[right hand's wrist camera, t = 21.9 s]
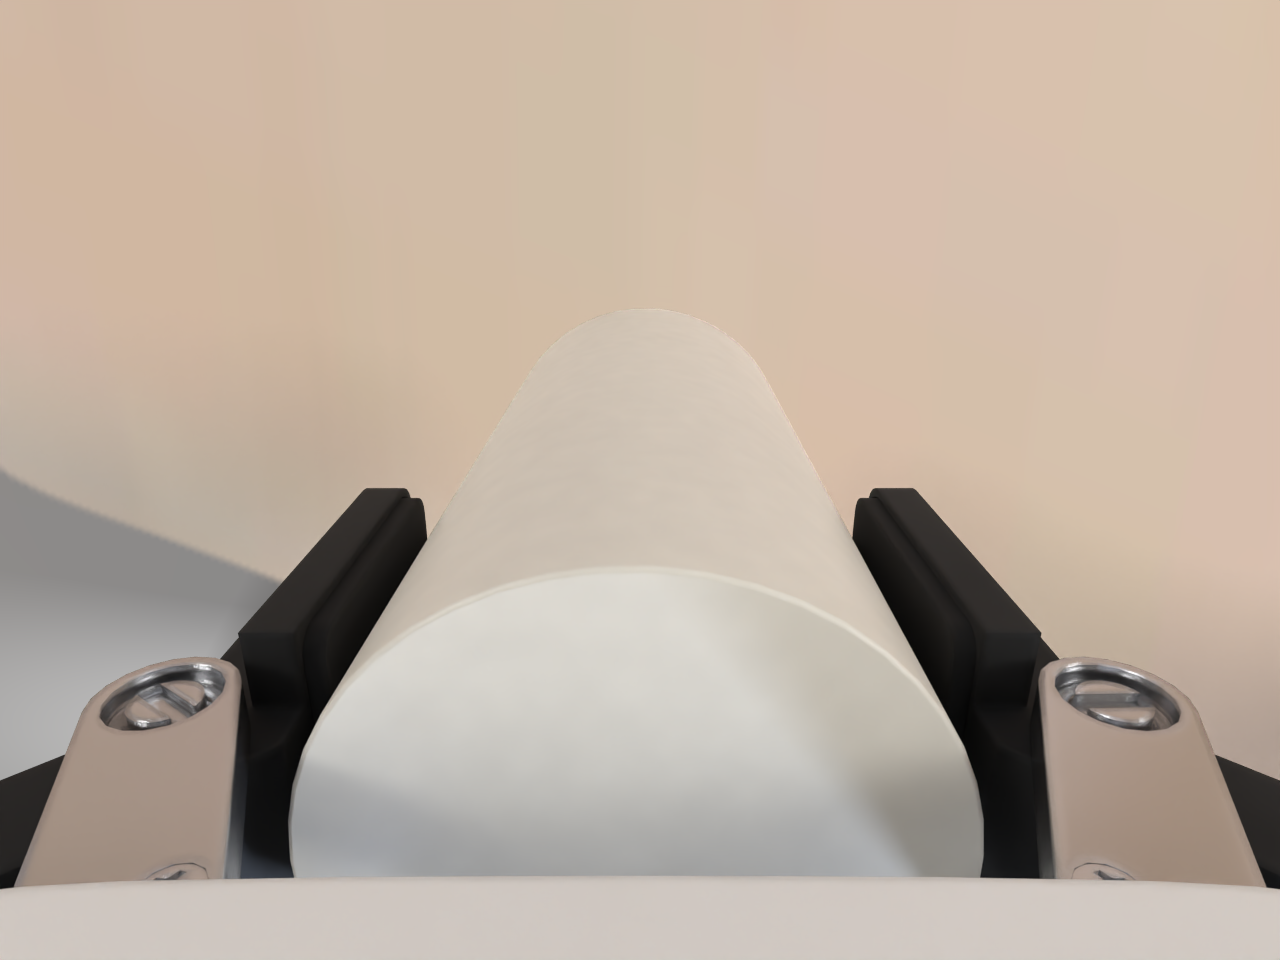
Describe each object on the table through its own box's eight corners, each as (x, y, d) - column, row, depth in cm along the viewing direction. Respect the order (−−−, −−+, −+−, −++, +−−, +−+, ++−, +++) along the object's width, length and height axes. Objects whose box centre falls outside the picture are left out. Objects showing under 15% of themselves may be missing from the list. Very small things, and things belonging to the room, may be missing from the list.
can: (656, 246, 16) (662, 403, 5) (834, 452, 18) (1122, 902, 7) (456, 433, 18) (143, 853, 7) (637, 608, 19) (615, 1183, 8)
